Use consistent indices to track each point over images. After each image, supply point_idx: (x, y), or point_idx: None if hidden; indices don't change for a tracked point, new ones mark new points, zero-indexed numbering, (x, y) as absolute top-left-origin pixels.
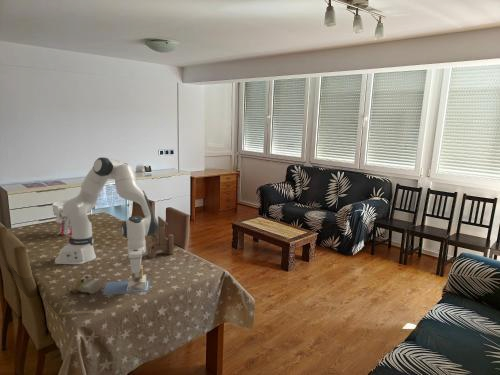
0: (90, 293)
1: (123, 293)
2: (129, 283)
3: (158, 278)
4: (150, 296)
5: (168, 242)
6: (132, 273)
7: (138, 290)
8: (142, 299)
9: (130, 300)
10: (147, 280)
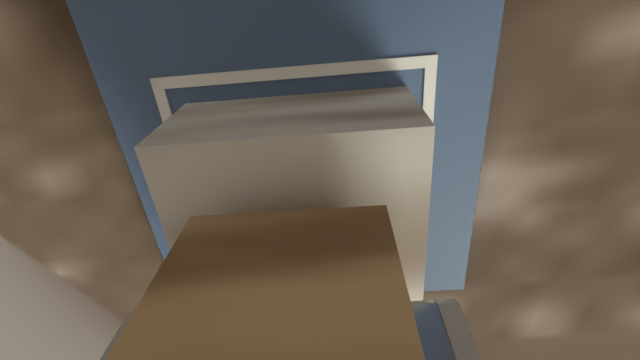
0: None
1: (87, 47)
2: (142, 158)
3: (501, 327)
4: (135, 298)
5: None
6: (140, 322)
7: None
8: (64, 248)
9: (8, 147)
10: (443, 268)
